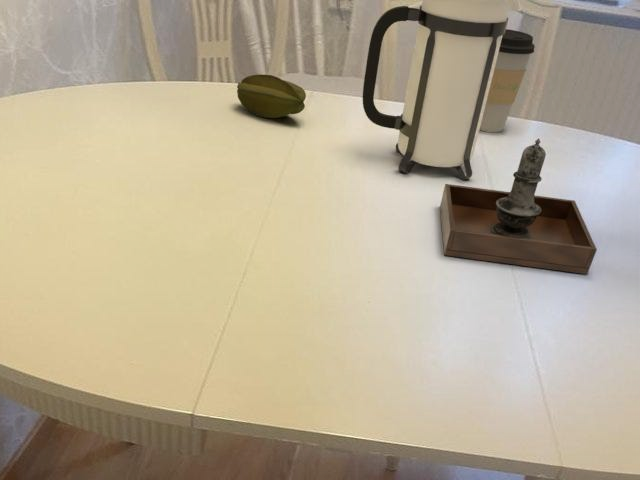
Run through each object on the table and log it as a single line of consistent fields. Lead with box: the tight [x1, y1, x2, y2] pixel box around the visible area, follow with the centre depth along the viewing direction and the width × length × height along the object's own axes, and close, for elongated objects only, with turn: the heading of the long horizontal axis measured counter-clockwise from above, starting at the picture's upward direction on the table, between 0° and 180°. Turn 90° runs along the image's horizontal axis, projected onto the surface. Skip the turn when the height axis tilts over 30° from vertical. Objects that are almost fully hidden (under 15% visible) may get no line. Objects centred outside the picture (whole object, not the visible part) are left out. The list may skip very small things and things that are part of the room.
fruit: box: [236, 74, 307, 119], centre depth 130 cm, size 11×12×7 cm
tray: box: [439, 183, 597, 275], centre depth 100 cm, size 18×16×3 cm
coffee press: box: [362, 0, 522, 181], centre depth 110 cm, size 17×16×30 cm
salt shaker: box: [491, 138, 547, 239], centre depth 96 cm, size 6×6×12 cm
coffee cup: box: [479, 28, 536, 133], centre depth 133 cm, size 9×9×15 cm
